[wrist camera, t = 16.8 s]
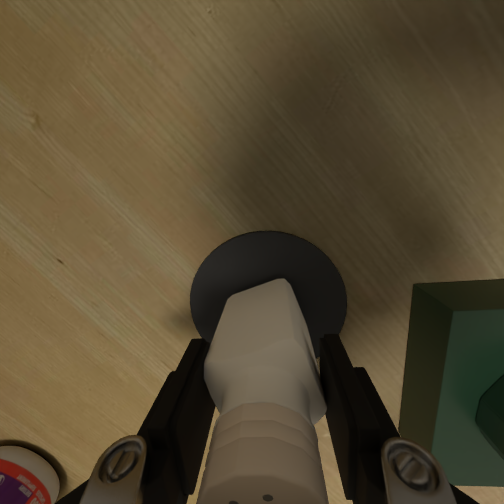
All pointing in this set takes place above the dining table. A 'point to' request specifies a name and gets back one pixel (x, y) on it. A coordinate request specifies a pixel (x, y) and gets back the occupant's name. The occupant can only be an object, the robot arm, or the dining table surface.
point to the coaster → (268, 269)
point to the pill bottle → (26, 477)
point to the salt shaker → (264, 403)
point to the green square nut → (457, 379)
